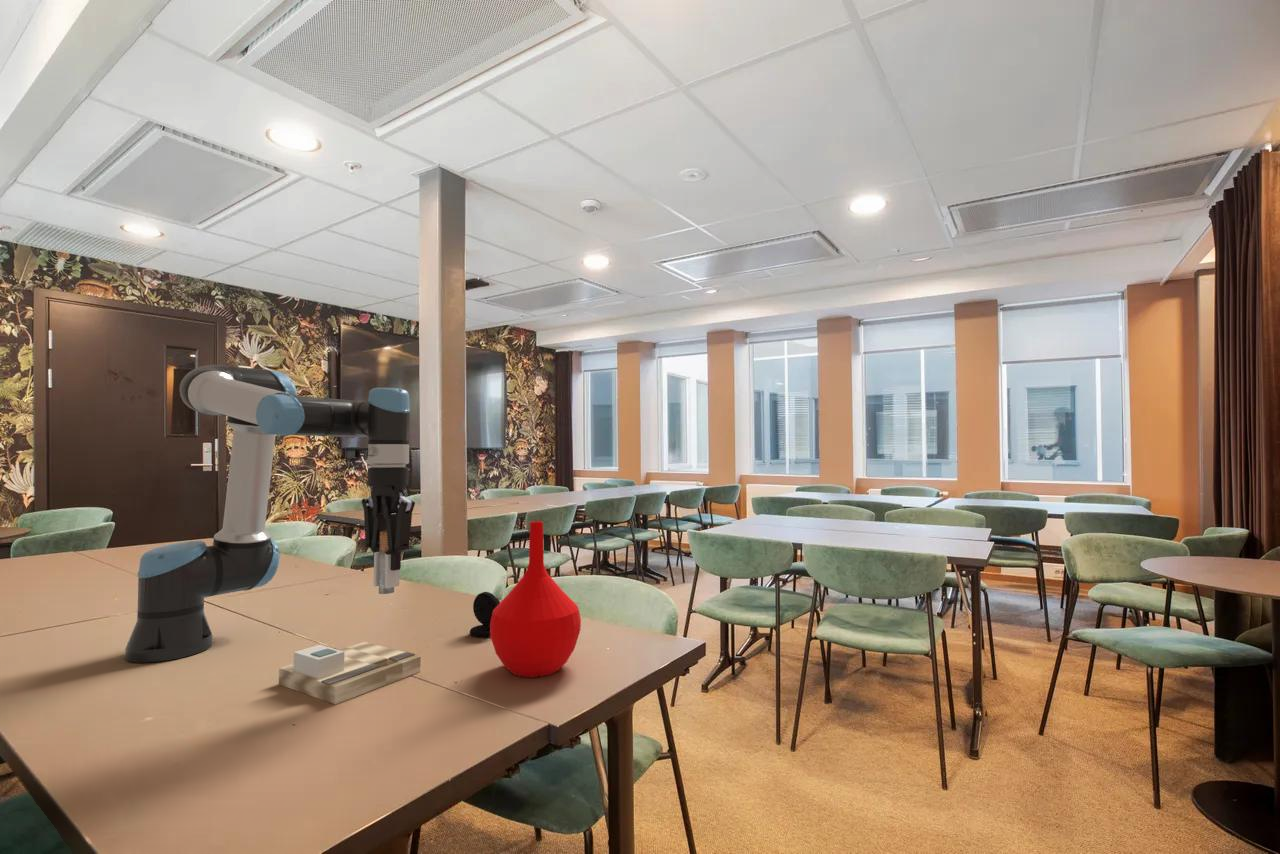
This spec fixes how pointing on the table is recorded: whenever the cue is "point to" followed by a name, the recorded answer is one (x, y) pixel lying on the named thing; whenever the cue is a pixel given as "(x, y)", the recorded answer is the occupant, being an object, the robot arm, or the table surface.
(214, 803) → the table surface
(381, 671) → the panel
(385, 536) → the silver and copper cylinder
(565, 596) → the vase
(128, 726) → the table surface
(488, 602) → the webcam
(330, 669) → the block
